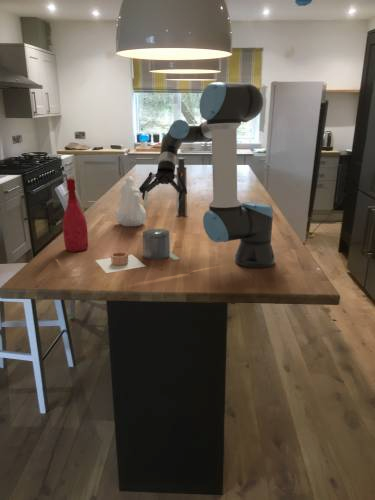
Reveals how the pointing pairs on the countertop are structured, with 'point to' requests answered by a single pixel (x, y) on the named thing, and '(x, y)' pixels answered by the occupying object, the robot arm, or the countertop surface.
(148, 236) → the grey ribbed cylinder
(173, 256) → the mat
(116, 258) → the bowl
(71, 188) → the wine bottle
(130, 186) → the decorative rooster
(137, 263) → the board
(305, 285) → the countertop surface
